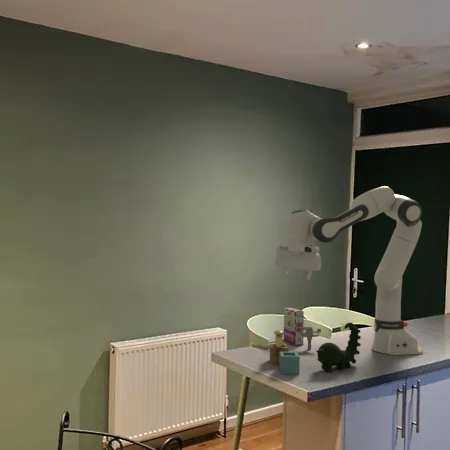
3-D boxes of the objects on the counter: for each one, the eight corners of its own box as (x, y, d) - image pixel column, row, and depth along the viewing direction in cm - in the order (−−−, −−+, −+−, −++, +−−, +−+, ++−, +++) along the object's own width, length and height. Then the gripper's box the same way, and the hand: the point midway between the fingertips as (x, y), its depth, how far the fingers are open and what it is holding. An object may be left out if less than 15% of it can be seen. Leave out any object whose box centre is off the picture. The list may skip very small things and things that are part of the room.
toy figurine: (346, 364, 229) (306, 369, 213) (349, 320, 230) (309, 322, 214) (364, 369, 222) (324, 375, 206) (367, 323, 222) (327, 326, 207)
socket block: (297, 368, 216) (297, 351, 216) (299, 374, 209) (299, 356, 209) (279, 368, 217) (279, 351, 216) (280, 374, 209) (281, 356, 209)
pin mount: (286, 360, 230) (286, 343, 229) (288, 364, 222) (288, 348, 222) (269, 359, 230) (269, 343, 229) (270, 364, 222) (271, 347, 222)
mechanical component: (320, 350, 245) (320, 328, 245) (298, 349, 247) (298, 327, 247) (320, 349, 248) (320, 327, 248) (298, 347, 250) (298, 326, 250)
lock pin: (283, 361, 228) (283, 330, 228) (284, 363, 224) (284, 332, 224) (273, 360, 228) (273, 330, 228) (274, 363, 224) (274, 332, 224)
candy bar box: (303, 345, 256) (304, 310, 255) (294, 346, 254) (295, 311, 253) (292, 339, 266) (292, 306, 266) (283, 340, 264) (283, 307, 264)
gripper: (273, 246, 233) (272, 277, 234) (317, 249, 223) (316, 282, 223) (279, 245, 239) (278, 276, 239) (323, 248, 228) (321, 280, 229)
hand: (297, 279), depth 231 cm, fingers open, 8 cm apart
